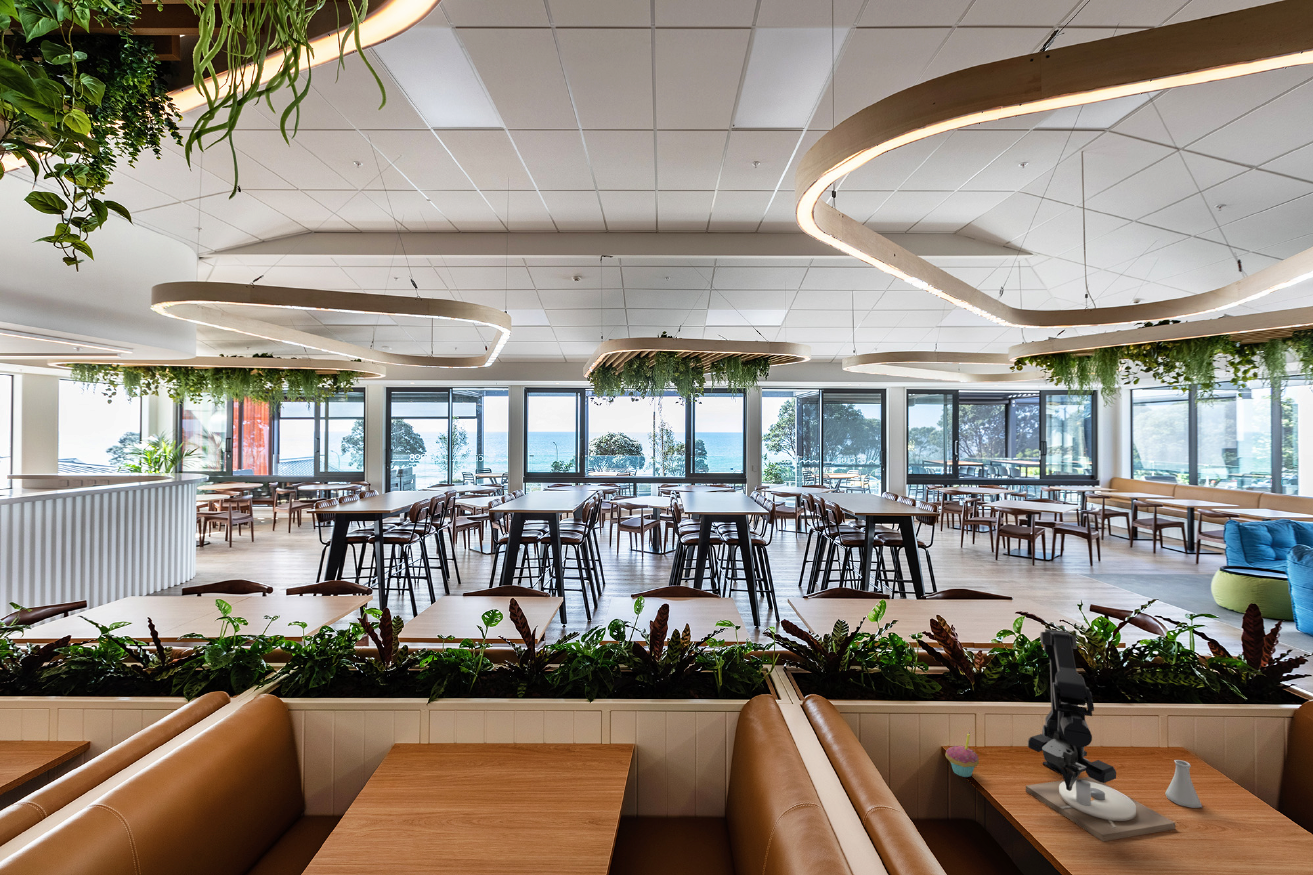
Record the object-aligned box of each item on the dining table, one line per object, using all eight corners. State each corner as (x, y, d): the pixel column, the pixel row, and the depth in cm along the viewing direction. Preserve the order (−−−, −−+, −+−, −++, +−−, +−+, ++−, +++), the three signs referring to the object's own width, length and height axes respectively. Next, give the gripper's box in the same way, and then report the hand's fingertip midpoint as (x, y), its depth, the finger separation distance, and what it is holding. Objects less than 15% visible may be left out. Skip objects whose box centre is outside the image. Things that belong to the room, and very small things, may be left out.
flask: (1209, 810, 154) (1207, 771, 154) (1176, 807, 156) (1175, 768, 156) (1190, 795, 161) (1189, 757, 162) (1159, 792, 163) (1158, 754, 163)
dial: (1079, 779, 165) (1078, 755, 166) (1148, 809, 151) (1148, 783, 152) (1046, 795, 158) (1045, 769, 158) (1115, 827, 144) (1115, 800, 144)
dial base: (1025, 791, 163) (1025, 784, 163) (1091, 781, 168) (1091, 775, 168) (1102, 841, 141) (1102, 834, 141) (1175, 828, 146) (1175, 821, 146)
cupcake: (976, 768, 175) (975, 726, 175) (981, 783, 167) (981, 739, 167) (943, 763, 178) (943, 722, 178) (947, 777, 170) (947, 734, 170)
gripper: (1015, 719, 160) (1013, 777, 160) (1091, 753, 143) (1089, 818, 143) (1041, 712, 165) (1040, 769, 165) (1118, 744, 148) (1116, 807, 148)
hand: (1069, 790), depth 155 cm, fingers closed
